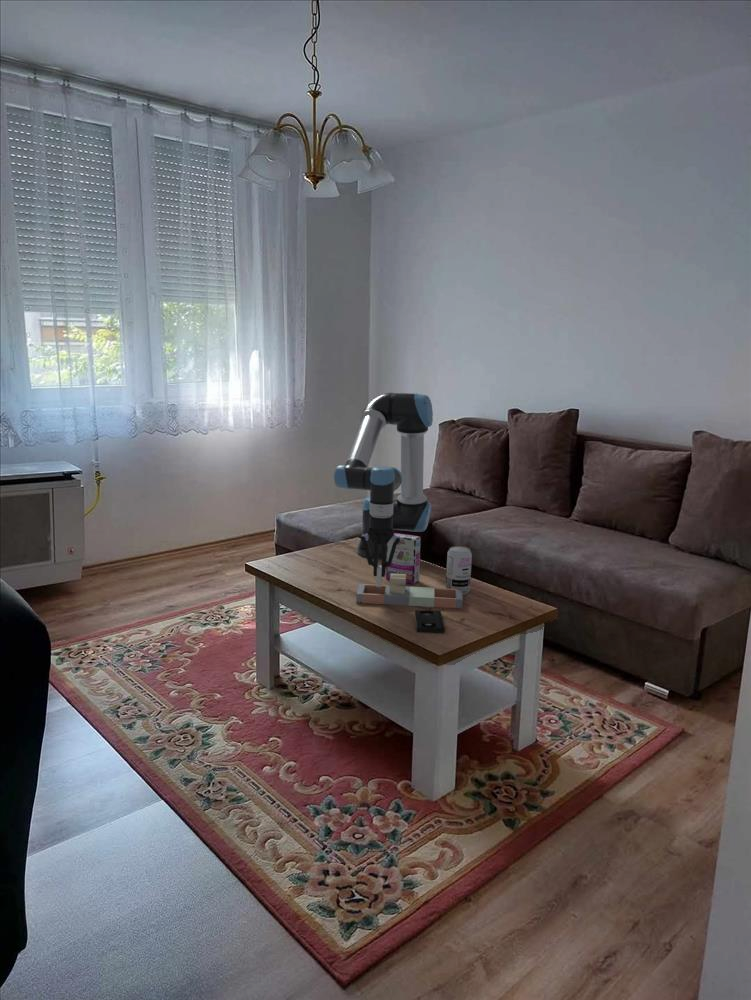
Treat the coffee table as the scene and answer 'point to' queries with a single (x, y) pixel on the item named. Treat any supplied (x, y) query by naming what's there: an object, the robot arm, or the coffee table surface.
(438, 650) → the coffee table surface
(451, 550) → the supplement can
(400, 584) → the birch block
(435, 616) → the vhs tape
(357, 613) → the coffee table surface
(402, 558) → the candy bar box
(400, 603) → the trap runway
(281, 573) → the coffee table surface
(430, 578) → the coffee table surface
